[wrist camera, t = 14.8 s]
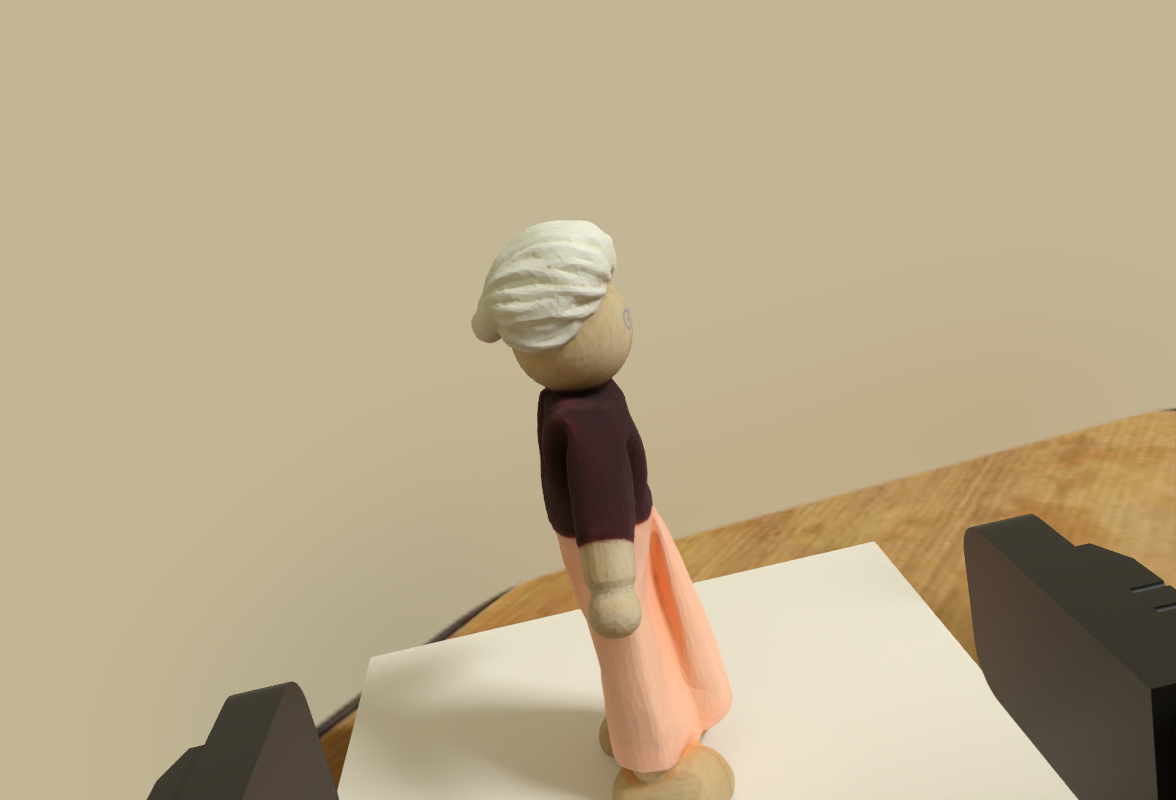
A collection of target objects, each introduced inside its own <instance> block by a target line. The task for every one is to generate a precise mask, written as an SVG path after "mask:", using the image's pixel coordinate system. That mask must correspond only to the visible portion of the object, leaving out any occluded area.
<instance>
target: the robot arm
mask: <svg viewBox="0 0 1176 800" xmlns="http://www.w3.org/2000/svg"><path fill="white" fill-rule="evenodd" d="M964 555H965V563H966V571H967V580H968V588H969V596H970V605H971V613H972V622H973V630H974V638H975V646H976V651H977V656H978V659H979V663H980V666H981V669H982V672H983V674H984V677H985V679H986V681H987V684H988V686H989V687H990V689H991V691H992V693H993V694H994V696H995V697H996V699H997V700H998V701H999V703H1000V704H1001V705H1002V706H1003V708H1004V709H1005V710H1006V711H1007V713H1008V714H1009V715H1010V716H1011V717H1012V719H1013V720H1014V721H1015V722H1016V724H1017V725H1018V726H1019V727H1020V729H1021V730H1022V731H1023V732H1024V733H1025V735H1026V736H1027V737H1028V738H1029V740H1030V741H1031V742H1032V743H1033V745H1034V746H1035V747H1036V748H1037V749H1038V751H1039V752H1040V753H1041V754H1042V756H1043V757H1044V758H1045V759H1046V761H1047V762H1048V763H1049V764H1050V765H1051V767H1052V768H1053V769H1054V770H1055V772H1056V773H1057V774H1058V775H1059V777H1060V778H1061V779H1062V780H1063V781H1064V783H1065V784H1066V785H1067V786H1068V788H1069V789H1070V790H1071V791H1072V793H1073V794H1074V795H1075V796H1076V797H1077V799H1078V800H1176V589H1174V588H1173V587H1172V586H1170V585H1169V586H1165V584H1164V581H1163V580H1162V579H1161V578H1159V577H1158V576H1157V575H1155V574H1154V573H1152V572H1151V571H1150V570H1148V569H1147V568H1146V567H1144V566H1143V565H1142V564H1140V563H1139V562H1137V561H1136V560H1135V559H1133V558H1131V557H1128V556H1125V555H1122V554H1119V553H1116V552H1113V551H1110V550H1107V549H1104V548H1102V547H1099V546H1096V545H1093V544H1090V543H1089V544H1085V545H1080V546H1076V547H1075V546H1074V545H1073V544H1071V543H1070V542H1069V541H1068V540H1066V539H1065V538H1064V537H1063V536H1061V535H1060V534H1059V533H1058V532H1056V531H1055V530H1054V529H1052V528H1051V527H1050V526H1049V525H1047V524H1046V523H1045V522H1044V521H1042V520H1041V519H1040V518H1038V517H1037V516H1035V515H1033V514H1027V515H1022V516H1018V517H1014V518H1009V519H1005V520H1000V521H996V522H992V523H987V524H983V525H979V526H974V527H970V528H968V529H967V530H966V532H965V535H964ZM147 800H339V797H338V793H337V789H336V786H335V783H334V780H333V777H332V774H331V772H330V769H329V766H328V763H327V760H326V757H325V754H324V751H323V748H322V745H321V742H320V739H319V736H318V733H317V730H316V727H315V724H314V722H313V719H312V716H311V713H310V710H309V707H308V704H307V701H306V698H305V696H304V694H303V692H302V690H301V688H300V687H299V686H298V685H297V683H295V682H287V683H283V684H279V685H274V686H270V687H266V688H261V689H257V690H253V691H248V692H244V693H239V694H235V695H232V696H229V697H228V698H227V700H226V701H225V703H224V705H223V707H222V709H221V711H220V713H219V716H218V718H217V720H216V722H215V724H214V726H213V728H212V730H211V732H210V734H209V736H208V739H207V740H206V743H205V745H202V746H198V747H194V748H190V749H188V750H187V751H186V752H185V753H184V754H183V755H182V756H181V757H180V758H179V759H178V760H177V761H176V762H175V763H174V764H173V765H172V766H171V767H170V768H169V769H168V770H167V771H166V772H165V773H164V774H163V775H162V776H161V777H160V778H159V779H158V780H157V781H156V783H155V785H154V787H153V789H152V791H151V793H150V795H149V797H148V799H147Z"/></svg>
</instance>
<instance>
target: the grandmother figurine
mask: <svg viewBox="0 0 1176 800" xmlns="http://www.w3.org/2000/svg"><path fill="white" fill-rule="evenodd" d="M616 267H617V262H616V254H615V251H614V249H613V242H612V239H611V237H610V236H608V235H606V234H605V233H604V232H603V231H601V230H600V229H599V228H598V227H597V226H596V225H594V224H592V223H590V222H588V221H583V220H576V221H567V220H555V221H549V222H545V223H541V224H538V225H535V226H532V227H530V228H528V229H526V230H524V231H523V232H522V233H520V234H519V235H518V236H516V237H515V239H513V240H512V241H511V242H510V243H509V245H508V246H507V247H506V248H505V249H504V250H503V251H502V252H501V253H500V254H499V255H498V257H497V258H496V259H495V261H494V263H493V265H492V267H491V269H490V271H489V273H488V275H487V277H486V281H485V284H484V289H483V293H482V295H481V297H480V299H479V303H478V308H477V311H476V313H475V315H474V316H473V319H472V329H473V332H474V333H475V335H476V337H477V338H478V339H479V340H481V341H484V342H487V343H493V342H496V341H497V340H499V339H501V338H502V339H503V341H504V342H505V343H506V344H507V345H509V346H510V347H512V349H513V352H514V354H515V357H516V359H517V361H518V362H519V364H520V366H521V368H523V370H524V371H525V373H526V374H527V375H528V376H529V377H531V378H532V379H533V380H534V381H536V382H537V383H539V384H541V385H543V386H545V389H543V390H542V391H541V392H540V396H539V402H538V413H537V420H538V421H537V422H538V429H537V432H538V444H539V450H540V459H541V481H542V489H543V495H544V501H545V506H546V510H547V514H548V519H549V521H550V523H551V524H552V527H553V529H554V530H555V532H556V534H557V537H558V540H559V544H560V549H561V553H562V558H563V561H564V564H565V567H566V570H567V574H568V577H569V580H570V583H571V586H572V589H573V591H574V594H575V597H576V599H577V602H578V604H579V606H580V608H581V610H582V613H583V615H584V616H585V618H586V620H587V624H588V627H589V631H590V634H591V637H592V641H593V644H594V647H595V651H596V654H597V658H598V661H599V665H600V669H601V682H602V688H603V695H604V703H605V712H606V717H605V718H604V720H603V721H602V724H601V726H600V730H599V741H600V744H601V747H602V749H603V751H604V752H605V753H606V754H608V755H610V756H613V757H615V760H616V761H617V762H618V763H619V764H620V766H622V768H621V769H620V770H619V772H618V774H617V776H616V778H615V781H614V785H613V800H730V799H731V797H732V796H733V793H734V787H735V777H734V773H733V770H732V769H731V767H730V765H729V764H728V762H727V761H726V760H725V759H724V758H723V757H722V756H721V755H720V754H719V753H718V752H716V751H715V750H714V749H712V748H709V747H707V746H704V745H702V744H700V738H701V737H702V736H703V735H704V734H705V733H706V731H707V730H708V729H709V728H711V727H713V726H714V725H716V724H717V723H719V722H720V721H721V720H722V719H724V718H725V716H726V715H727V714H728V712H729V711H730V708H731V705H732V700H733V694H732V690H731V687H730V684H729V681H728V677H727V674H726V671H725V668H724V664H723V661H722V658H721V655H720V651H719V648H718V645H717V643H716V640H715V637H714V634H713V631H712V629H711V626H710V624H709V621H708V618H707V616H706V613H705V611H704V608H703V606H702V604H701V601H700V599H699V597H698V595H697V592H696V590H695V588H694V586H693V583H692V581H691V579H690V577H689V574H688V572H687V570H686V567H685V565H684V563H683V560H682V558H681V556H680V554H679V552H678V549H677V547H676V545H675V543H674V541H673V539H672V538H671V535H670V533H669V531H668V529H667V527H666V525H665V524H664V522H663V520H662V519H661V517H660V515H659V514H658V512H657V510H656V509H655V507H654V506H653V504H652V496H651V491H650V489H649V486H648V484H647V463H646V456H645V451H644V447H643V443H642V440H641V438H640V435H639V433H638V430H637V428H636V426H635V424H634V422H633V420H632V418H631V416H630V413H629V410H628V407H627V404H626V401H625V396H624V394H623V392H622V390H621V389H620V388H619V387H618V386H617V384H616V383H615V382H614V380H613V379H612V377H613V376H614V375H615V374H616V373H617V372H618V371H619V370H620V368H621V367H622V365H623V364H624V363H625V361H626V359H627V357H628V355H629V352H630V349H631V344H632V331H633V330H632V319H631V316H630V312H629V309H628V306H627V304H626V302H625V301H624V299H623V297H622V295H621V294H620V293H619V291H618V290H617V289H616V288H615V287H614V286H613V285H612V284H610V281H611V279H612V278H613V277H614V275H615V269H616Z"/></svg>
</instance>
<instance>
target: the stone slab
mask: <svg viewBox="0 0 1176 800" xmlns="http://www.w3.org/2000/svg"><path fill="white" fill-rule="evenodd" d="M693 586H694V588H695V590H696V592H697V595H698V597H699V599H700V601H701V604H702V606H703V608H704V611H705V613H706V616H707V618H708V621H709V624H710V626H711V629H712V631H713V634H714V637H715V640H716V643H717V645H718V648H719V651H720V655H721V658H722V661H723V664H724V668H725V671H726V674H727V677H728V681H729V684H730V687H731V690H732V694H733V700H732V705H731V708H730V711H729V712H728V714H727V715H726V716H725V718H724V719H722V720H721V721H720V722H719V723H717V724H716V725H714V726H713V727H711V728H709V729H708V730H707V731H706V733H705V734H704V735H703V736H702V737H701V738H700V744H702V745H704V746H707V747H709V748H712V749H714V750H715V751H716V752H718V753H719V754H720V755H721V756H722V757H723V758H724V759H725V760H726V761H727V762H728V764H729V765H730V767H731V769H732V770H733V773H734V777H735V787H734V793H733V796H732V797H731V799H730V800H1078V799H1077V797H1076V796H1075V795H1074V794H1073V793H1072V791H1071V790H1070V789H1069V788H1068V786H1067V785H1066V784H1065V783H1064V781H1063V780H1062V779H1061V778H1060V777H1059V775H1058V774H1057V773H1056V772H1055V770H1054V769H1053V768H1052V767H1051V765H1050V764H1049V763H1048V762H1047V761H1046V759H1045V758H1044V757H1043V756H1042V754H1041V753H1040V752H1039V751H1038V749H1037V748H1036V747H1035V746H1034V745H1033V743H1032V742H1031V741H1030V740H1029V738H1028V737H1027V736H1026V735H1025V733H1024V732H1023V731H1022V730H1021V729H1020V727H1019V726H1018V725H1017V724H1016V722H1015V721H1014V720H1013V719H1012V717H1011V716H1010V715H1009V714H1008V713H1007V711H1006V710H1005V709H1004V708H1003V706H1002V705H1001V704H1000V703H999V701H998V700H997V699H996V697H995V696H994V694H993V693H992V691H991V689H990V687H989V686H988V684H987V681H986V679H985V677H984V674H983V672H982V670H981V669H980V668H979V667H978V665H977V664H976V663H975V662H974V661H973V659H972V658H971V657H970V656H969V655H968V653H967V652H966V651H965V650H964V649H963V647H962V646H961V645H960V644H959V643H958V641H957V640H956V639H955V638H954V637H953V635H952V634H951V633H950V632H949V631H948V629H947V628H946V627H945V626H944V625H943V623H942V622H941V621H940V620H939V619H938V617H937V616H936V615H935V614H934V613H933V611H932V610H931V609H930V608H929V607H928V605H927V604H926V603H925V602H924V601H923V599H922V598H921V597H920V596H919V595H918V593H917V592H916V591H915V590H914V589H913V587H912V586H911V585H910V584H909V583H908V581H907V580H906V579H905V578H904V577H903V575H902V574H901V573H900V572H899V571H898V569H897V568H896V567H895V566H894V565H893V563H892V562H891V561H890V560H889V559H888V557H887V556H886V555H885V554H884V553H883V551H882V550H881V549H880V548H879V547H878V545H877V544H876V543H875V542H870V543H866V544H861V545H857V546H853V547H848V548H844V549H840V550H835V551H831V552H827V553H822V554H818V555H814V556H809V557H805V558H801V559H796V560H792V561H788V562H783V563H779V564H775V565H770V566H766V567H761V568H757V569H753V570H748V571H744V572H740V573H735V574H731V575H727V576H722V577H718V578H714V579H709V580H705V581H701V582H696V583H693ZM605 717H606V712H605V703H604V695H603V688H602V682H601V669H600V665H599V661H598V658H597V654H596V651H595V647H594V644H593V641H592V637H591V634H590V631H589V627H588V624H587V620H586V618H585V616H584V615H583V613H582V610H581V609H579V610H575V611H570V612H566V613H562V614H557V615H553V616H549V617H544V618H540V619H536V620H531V621H527V622H523V623H518V624H514V625H510V626H505V627H501V628H497V629H492V630H488V631H484V632H479V633H475V634H471V635H466V636H462V637H458V638H453V639H449V640H444V641H440V642H436V643H431V644H427V645H423V646H418V647H415V648H410V649H406V650H401V651H397V652H392V653H388V654H384V655H380V656H375V657H371V659H370V663H369V667H368V671H367V675H366V679H365V683H364V687H363V691H362V695H361V699H360V703H359V707H358V711H357V715H356V719H355V723H354V727H353V731H352V734H351V738H350V742H349V746H348V750H347V754H346V758H345V762H344V766H343V770H342V774H341V778H340V782H339V786H338V790H337V793H338V797H339V800H613V785H614V781H615V778H616V776H617V774H618V772H619V770H620V769H621V768H622V766H620V764H619V763H618V762H617V761H616V760H615V757H613V756H610V755H608V754H606V753H605V752H604V751H603V749H602V747H601V744H600V741H599V730H600V726H601V724H602V721H603V720H604V718H605Z"/></svg>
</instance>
